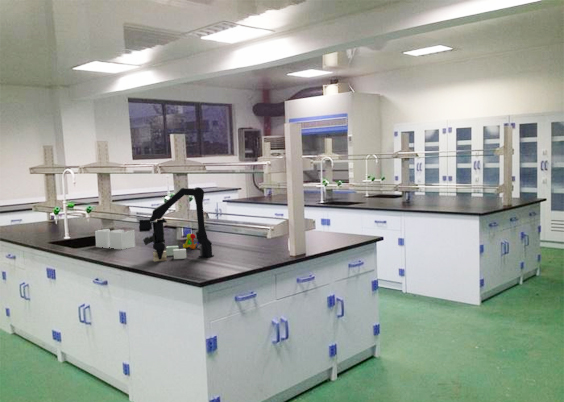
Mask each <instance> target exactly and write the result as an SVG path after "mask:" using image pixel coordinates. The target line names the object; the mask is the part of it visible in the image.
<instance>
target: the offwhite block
mask: <svg viewBox="0 0 564 402" xmlns="http://www.w3.org/2000/svg"><path fill="white" fill-rule="evenodd" d="M173 253H174V255H173V260H183V259H187V248H178V249H173Z"/></svg>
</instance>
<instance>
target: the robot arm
mask: <svg viewBox="0 0 564 402" xmlns="http://www.w3.org/2000/svg"><path fill="white" fill-rule="evenodd" d="M204 195H205V191H204V189H203V188H202V187H194V188H186V187H185V188H184V187H181V188H179V190H178V191H177V192H175V194H173V195H172V196H171V197H170V198H168V199H167V200H166V201H165V202H164V203H162V204H161V205H159V206H157V207H155V208H154V209H152V213H151V214H152V215H151V216H150V217H149V219H138V221H139V222H138V223H139V226H138V228H139V229H138V230H139V231H138V232H139V233H144V232H146V233H147V232H150V231H151V230H152V231H153V232H152V235H150V236H146V237H145V238H143V240H142V241H143V243H144V245H145V246H147V245H148V244H152V243H153V244H152V249H153V250H155V251H157V254H158V258H159V259H161V258H162V255H163V252H164V251H165V250H166V239H165V228H164V226H165V225H164V224H166V223H167V222H168V221H167V220H166V219H165V218H164V215H165V214H166V213H167V211H168V210H169V209H170V208H171V207H172V206H173V205H175V204H176V203H177V202H178V201H179V200H180V199H181V198H183V197H184V196H190V197H191V196H192V197H193V199H194V201H195V208H196V209H195V210H196V221H197V230H195V231H194V234H195V238H196V239H195V238H194V239H195V240H197V241H196V242H199V244H200V248H199V249H200V251H199V253H200V254H199V255H198V257H199V258H205V259H206V258H212V257H215V255H214V254H213V246H212V241H211V240H210V239H209V238H208V235H207V231H206V227H205V215H204V205H203V204H204V199H205V196H204Z"/></svg>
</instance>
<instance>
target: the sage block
mask: <svg viewBox="0 0 564 402" xmlns="http://www.w3.org/2000/svg"><path fill="white" fill-rule="evenodd" d="M173 249H179V245H167V246H166V245H165V251H166V257H169V256H170V257H171V256H174V253H173Z"/></svg>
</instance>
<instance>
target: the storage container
mask: <svg viewBox="0 0 564 402" xmlns="http://www.w3.org/2000/svg"><path fill="white" fill-rule="evenodd" d="M94 232H95V233H94V234H95V248H102V247H103V248H104V249H111V248H114V250H121V249H122V250H126V248H127V249H131V248H135V247H136V237H135V234H136V233H135V230H134V229H133V230H128V231H125V229H113V230H110V228H104V229H99V230H95V231H94ZM109 247H110V248H109Z"/></svg>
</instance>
